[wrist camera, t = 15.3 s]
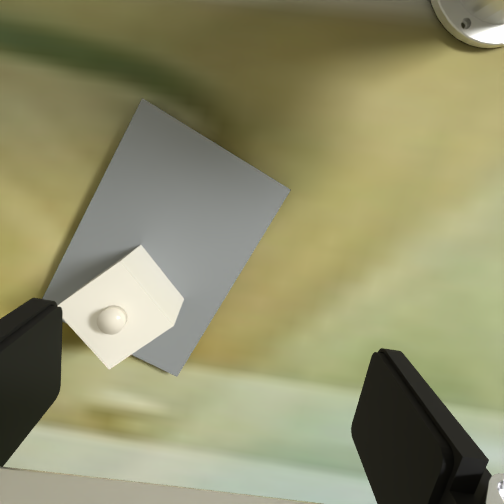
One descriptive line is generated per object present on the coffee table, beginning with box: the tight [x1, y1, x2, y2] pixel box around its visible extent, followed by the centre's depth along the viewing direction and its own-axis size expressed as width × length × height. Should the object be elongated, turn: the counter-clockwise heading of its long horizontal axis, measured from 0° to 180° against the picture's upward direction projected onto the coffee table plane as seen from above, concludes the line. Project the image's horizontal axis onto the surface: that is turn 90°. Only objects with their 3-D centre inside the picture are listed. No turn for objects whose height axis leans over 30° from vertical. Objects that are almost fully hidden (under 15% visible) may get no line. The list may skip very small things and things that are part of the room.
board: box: [42, 98, 290, 376], centre depth 33 cm, size 22×15×1 cm
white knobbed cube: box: [57, 245, 184, 369], centre depth 30 cm, size 7×7×7 cm
